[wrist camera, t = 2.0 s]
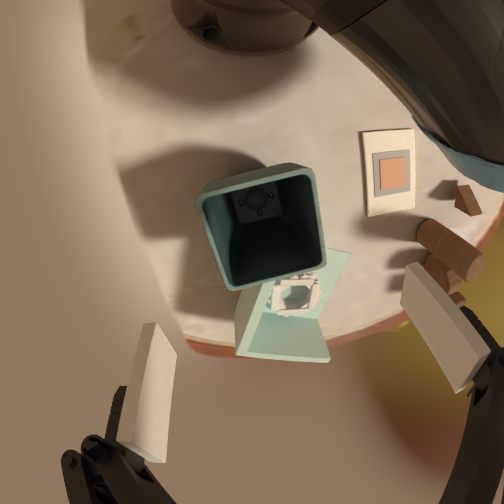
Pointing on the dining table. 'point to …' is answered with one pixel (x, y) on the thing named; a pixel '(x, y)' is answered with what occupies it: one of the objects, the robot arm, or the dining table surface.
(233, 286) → the flower pot
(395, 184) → the card
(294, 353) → the right angle wall
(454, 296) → the wooden block set
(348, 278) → the dining table surface
